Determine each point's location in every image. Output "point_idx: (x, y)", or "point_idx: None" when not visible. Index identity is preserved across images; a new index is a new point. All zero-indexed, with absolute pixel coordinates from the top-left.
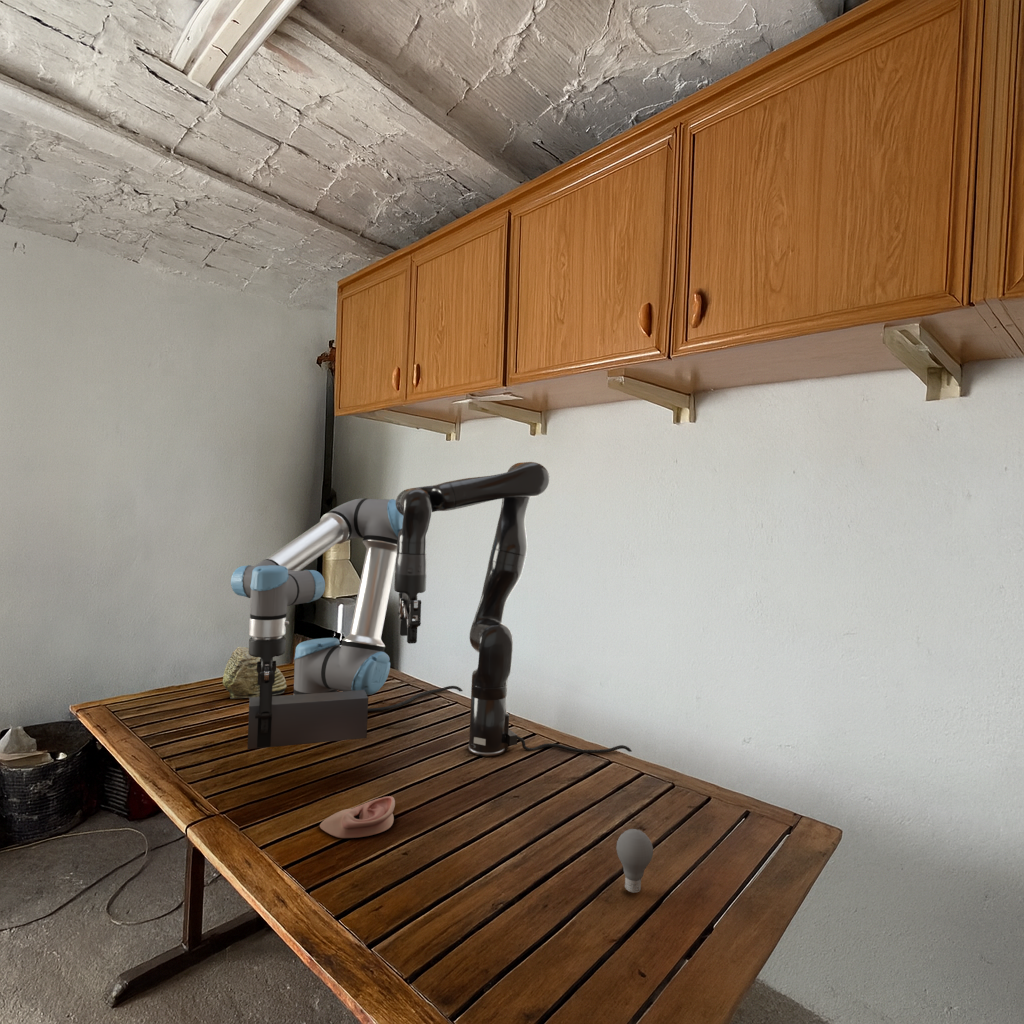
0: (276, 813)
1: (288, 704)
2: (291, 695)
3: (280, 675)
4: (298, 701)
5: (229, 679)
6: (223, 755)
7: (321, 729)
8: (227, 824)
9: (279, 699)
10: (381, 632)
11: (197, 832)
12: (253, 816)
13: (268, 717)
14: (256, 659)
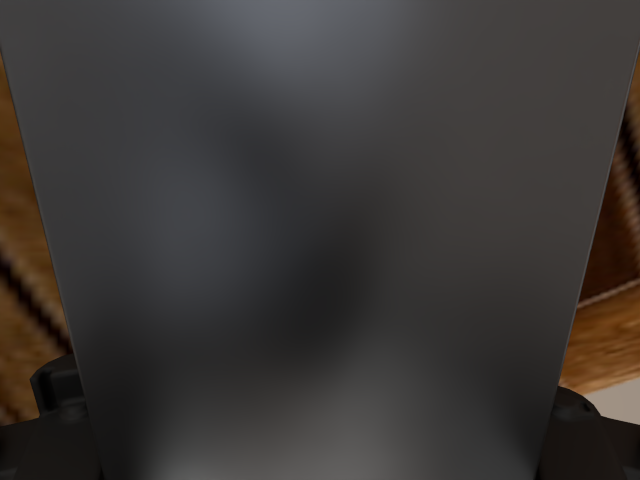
0: (616, 164)
1: (581, 254)
2: (75, 189)
3: None
4: (547, 55)
5: None
6: (50, 346)
7: None
8: (610, 310)
9: (300, 392)
10: None
11: (615, 378)
12: (597, 239)
13: (603, 417)
14: None
